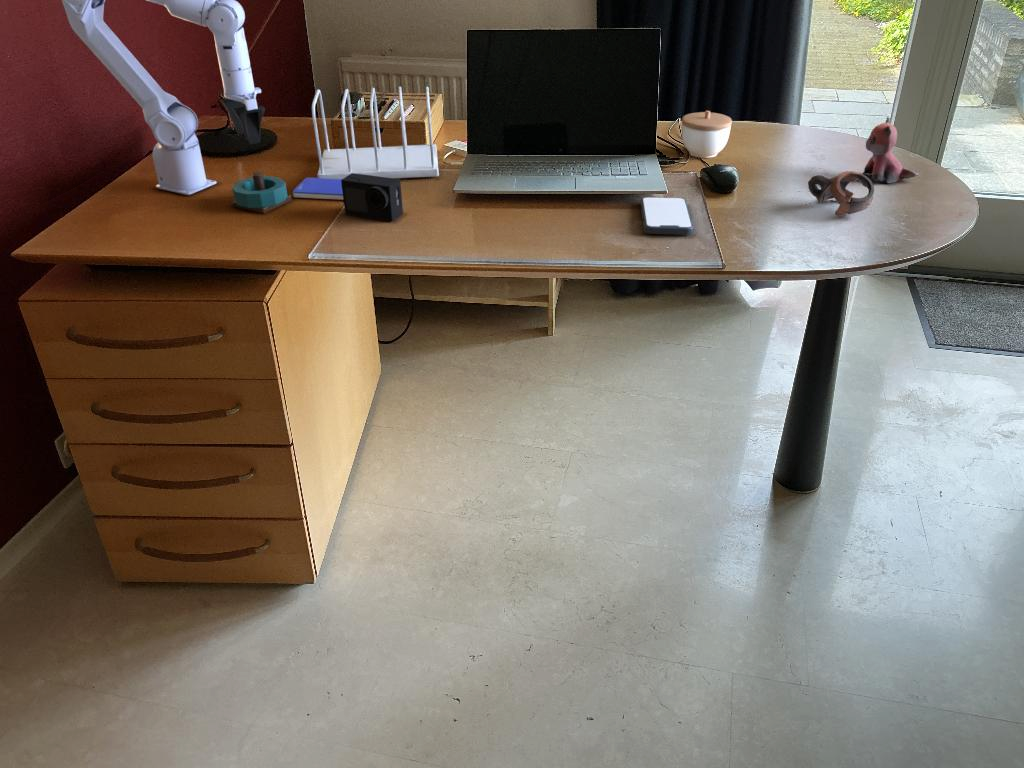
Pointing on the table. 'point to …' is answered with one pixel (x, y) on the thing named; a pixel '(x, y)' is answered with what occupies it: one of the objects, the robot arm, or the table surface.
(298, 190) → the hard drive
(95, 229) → the table surface
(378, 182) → the digital camera
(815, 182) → the brown curved piece
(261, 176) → the stand
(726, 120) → the trinket box
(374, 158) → the file sorter
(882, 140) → the stuffed fox
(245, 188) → the ring
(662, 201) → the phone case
